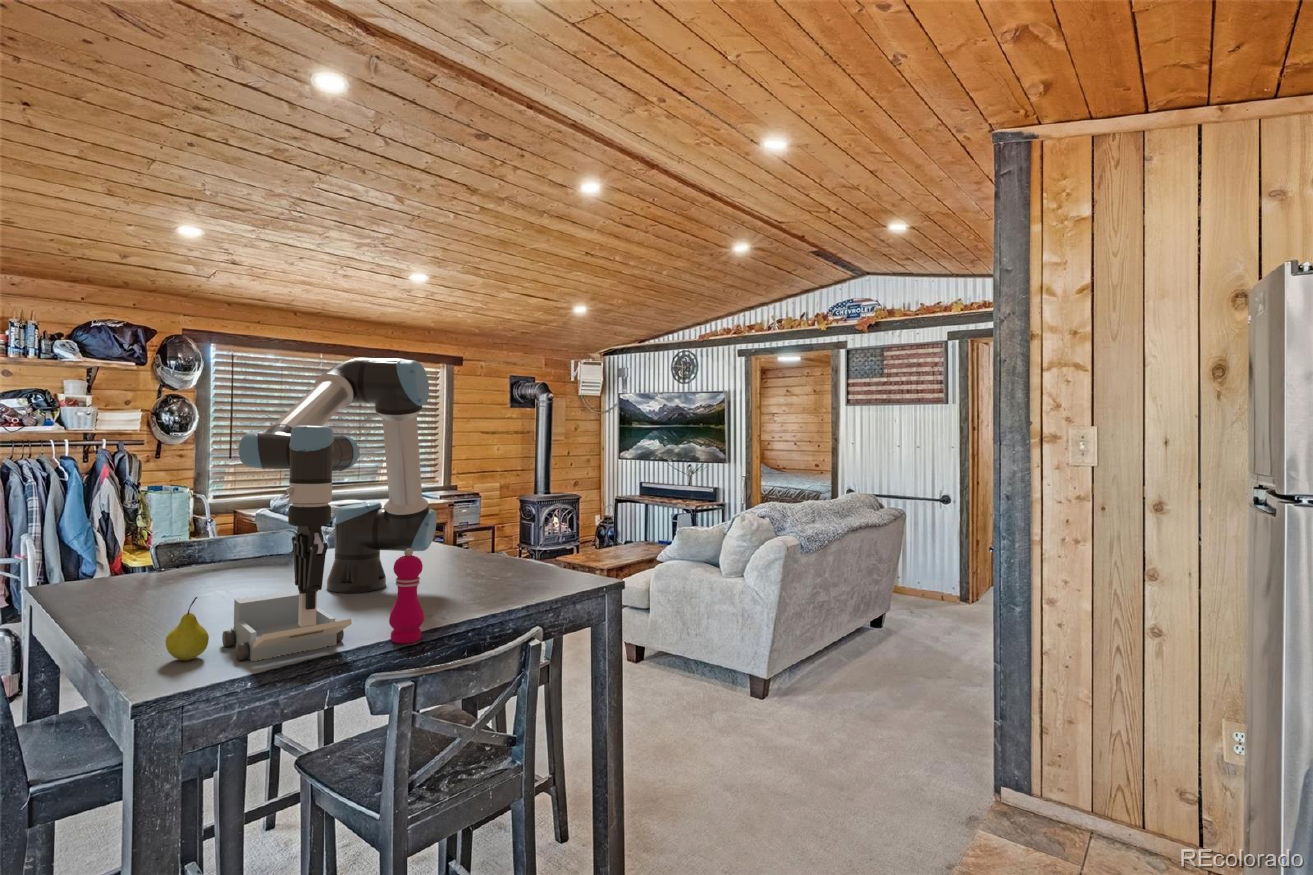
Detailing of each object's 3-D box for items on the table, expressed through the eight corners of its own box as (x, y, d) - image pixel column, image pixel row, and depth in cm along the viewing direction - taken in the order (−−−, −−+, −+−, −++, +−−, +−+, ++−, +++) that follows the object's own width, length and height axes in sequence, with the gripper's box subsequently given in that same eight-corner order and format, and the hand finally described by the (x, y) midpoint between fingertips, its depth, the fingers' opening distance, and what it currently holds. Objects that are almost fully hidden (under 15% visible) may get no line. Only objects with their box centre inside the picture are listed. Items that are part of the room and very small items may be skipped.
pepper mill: (394, 633, 156) (396, 544, 156) (427, 634, 157) (429, 545, 156) (384, 644, 149) (386, 551, 148) (418, 644, 150) (421, 552, 149)
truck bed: (220, 643, 146) (221, 601, 145) (319, 626, 159) (320, 587, 159) (241, 664, 135) (242, 617, 135) (345, 643, 149) (346, 601, 148)
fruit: (175, 668, 131) (176, 605, 131) (158, 660, 135) (159, 599, 135) (214, 658, 137) (215, 598, 137) (197, 651, 141) (198, 592, 141)
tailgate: (252, 643, 136) (264, 634, 131) (337, 627, 147) (350, 618, 142) (253, 649, 136) (264, 640, 130) (338, 633, 147) (351, 624, 142)
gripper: (278, 502, 139) (275, 620, 139) (301, 508, 129) (298, 635, 129) (318, 500, 144) (315, 614, 144) (342, 506, 134) (339, 628, 135)
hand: (307, 624), depth 137 cm, fingers closed
